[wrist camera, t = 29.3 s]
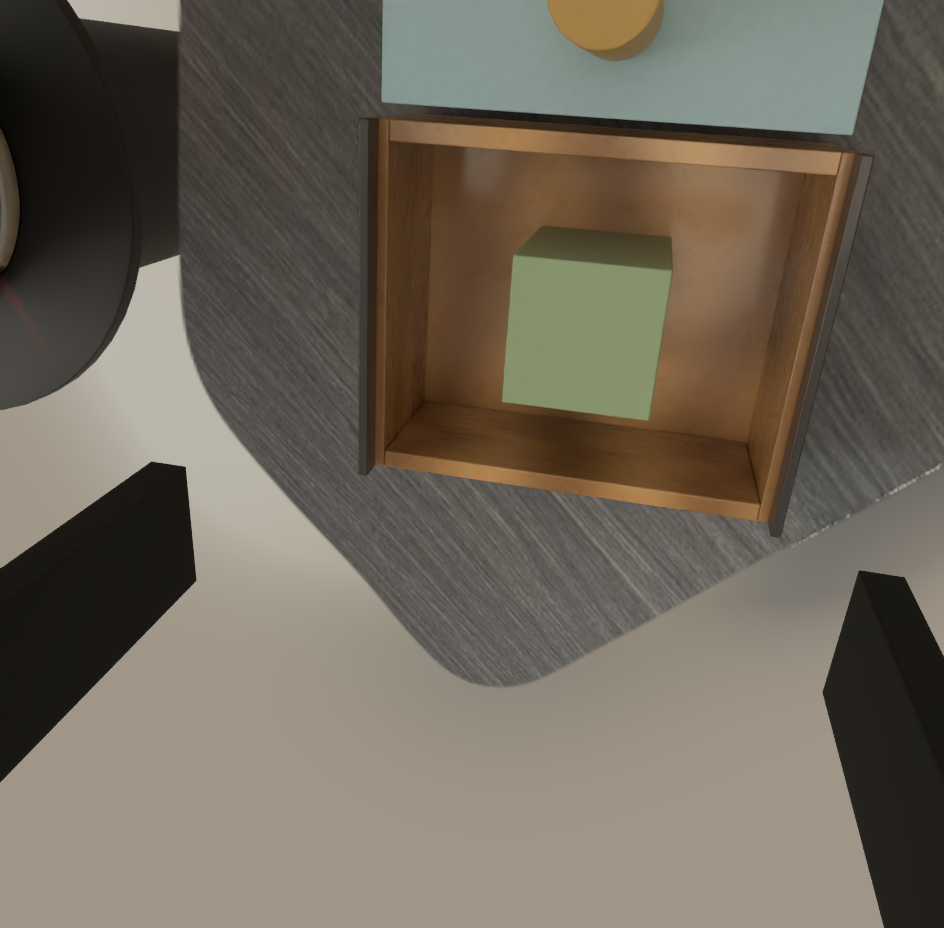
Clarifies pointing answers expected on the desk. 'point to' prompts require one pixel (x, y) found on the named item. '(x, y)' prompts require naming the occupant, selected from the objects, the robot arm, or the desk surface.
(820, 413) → the desk surface
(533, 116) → the desk surface
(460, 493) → the desk surface
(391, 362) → the case
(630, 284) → the block
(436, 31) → the slide top
